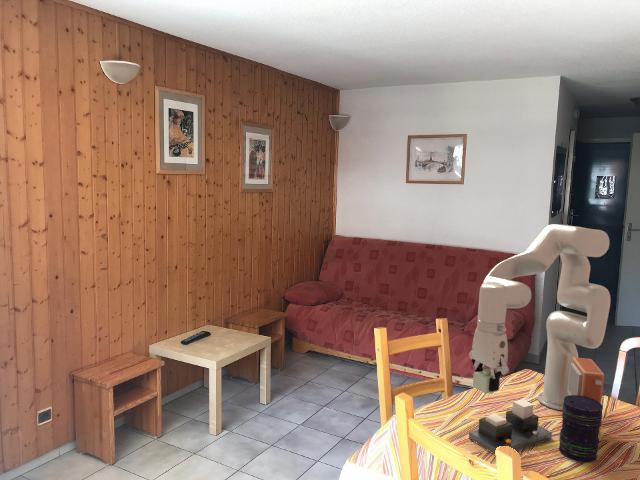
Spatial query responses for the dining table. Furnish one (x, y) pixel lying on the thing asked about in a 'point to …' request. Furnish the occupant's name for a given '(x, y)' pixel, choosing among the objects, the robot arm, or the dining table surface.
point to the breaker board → (510, 433)
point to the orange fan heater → (585, 379)
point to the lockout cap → (483, 380)
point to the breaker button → (522, 409)
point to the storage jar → (580, 428)
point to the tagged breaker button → (495, 420)
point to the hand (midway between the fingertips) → (486, 386)
